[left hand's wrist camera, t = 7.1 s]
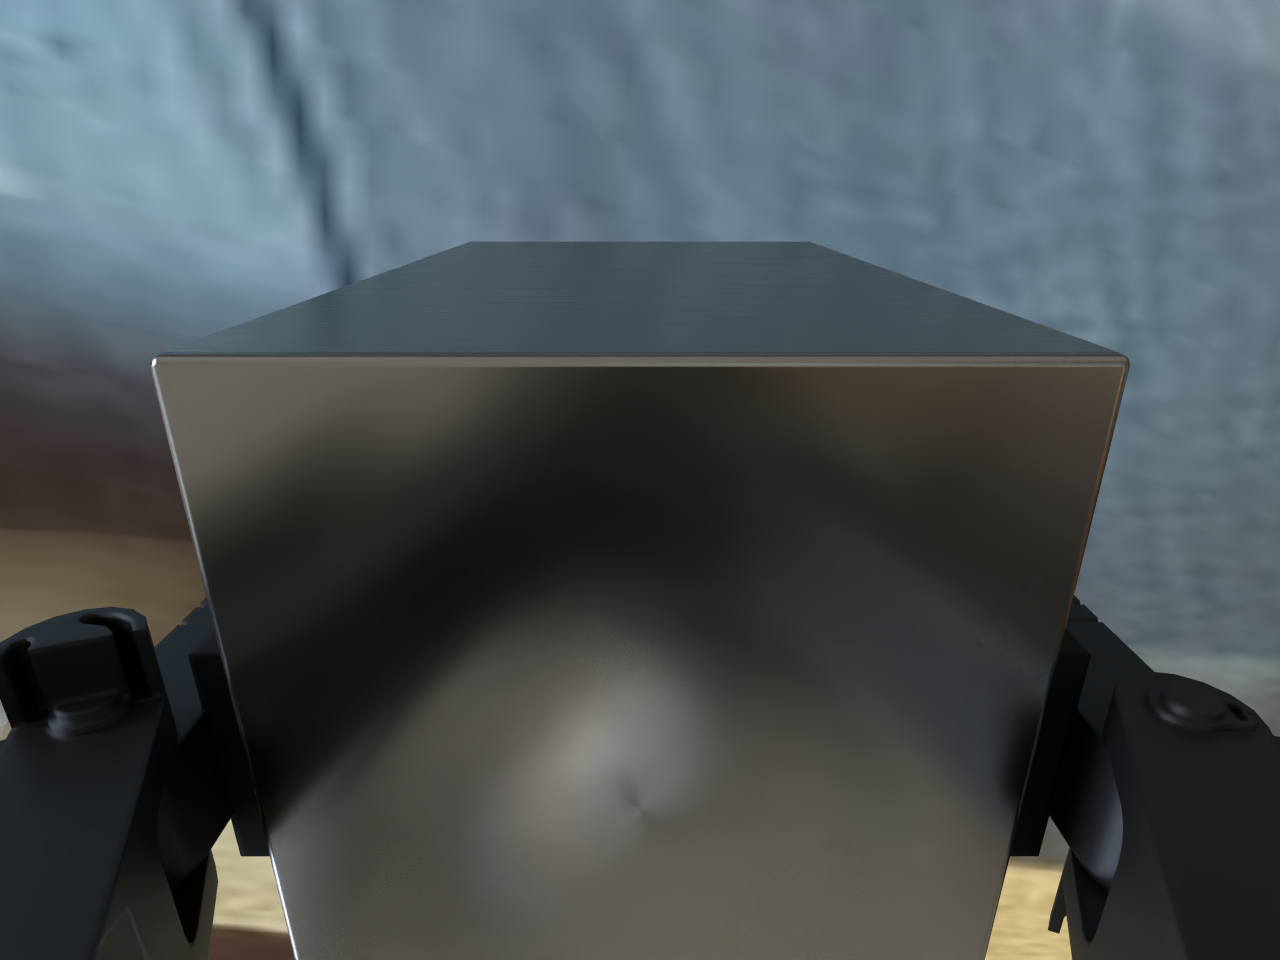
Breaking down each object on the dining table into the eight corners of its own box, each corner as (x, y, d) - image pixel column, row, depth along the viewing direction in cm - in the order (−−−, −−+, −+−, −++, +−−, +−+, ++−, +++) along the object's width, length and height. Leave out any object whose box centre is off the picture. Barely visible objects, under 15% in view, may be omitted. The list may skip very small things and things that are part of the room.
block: (783, 599, 20) (955, 1096, 9) (495, 599, 20) (324, 1096, 9) (812, 241, 16) (1138, 354, 6) (467, 241, 16) (141, 354, 6)
